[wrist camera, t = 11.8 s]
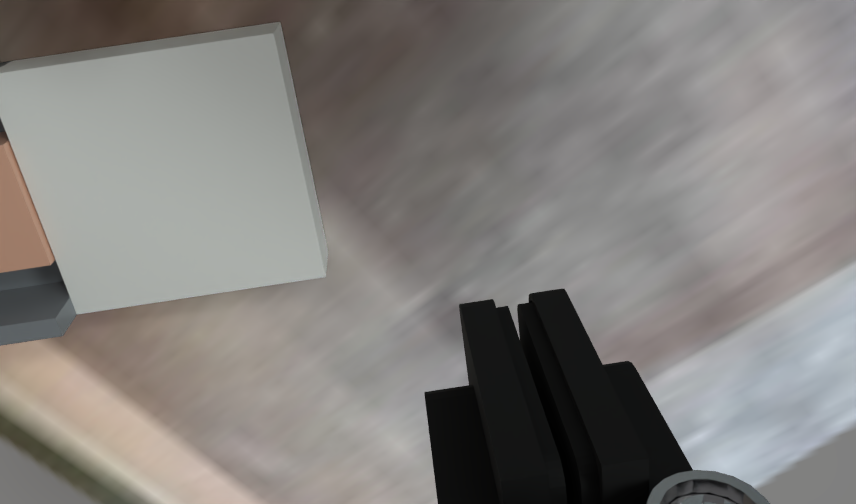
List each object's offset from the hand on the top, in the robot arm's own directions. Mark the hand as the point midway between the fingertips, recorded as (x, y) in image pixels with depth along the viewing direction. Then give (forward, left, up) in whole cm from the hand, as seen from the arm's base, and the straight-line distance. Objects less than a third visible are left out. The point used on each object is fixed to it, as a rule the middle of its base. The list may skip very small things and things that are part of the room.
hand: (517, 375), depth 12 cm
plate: (+4, -12, -27) cm, 30 cm away
